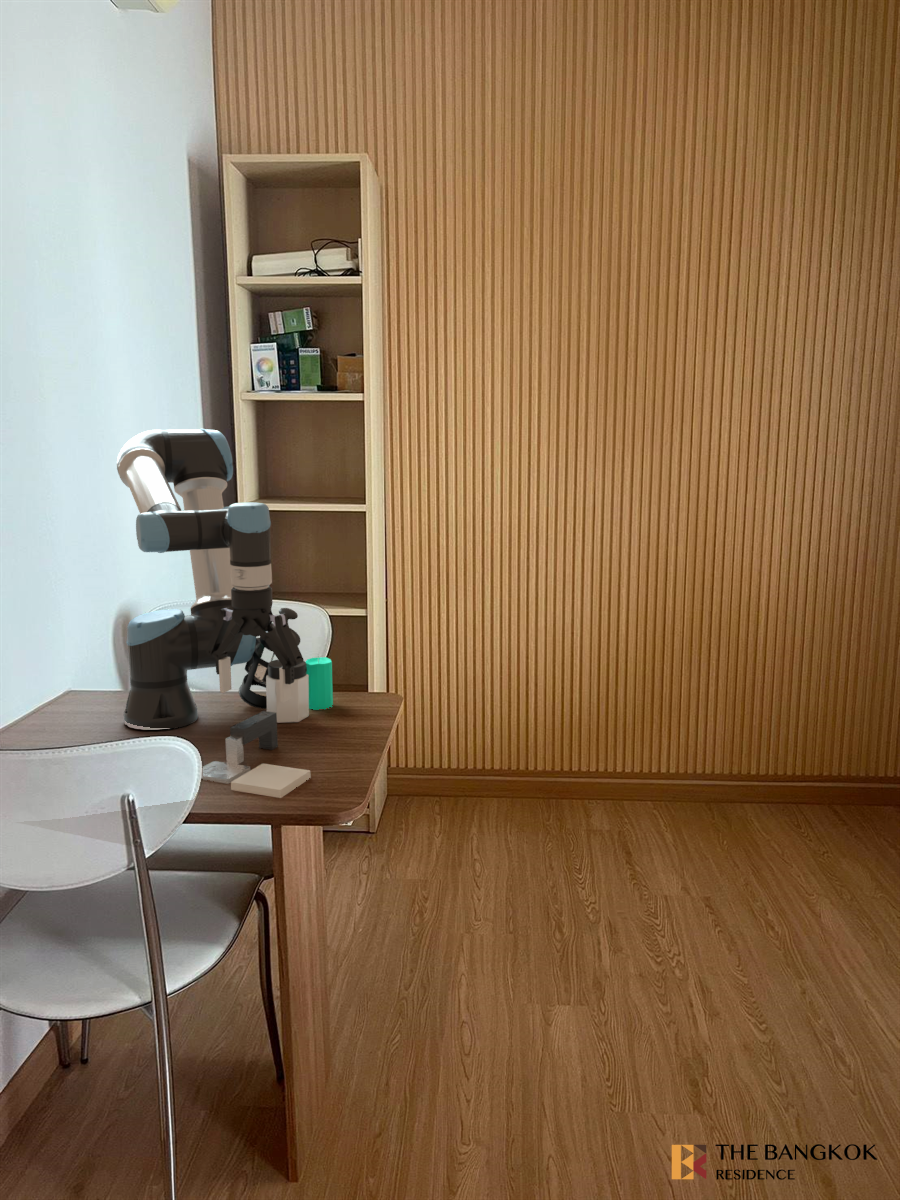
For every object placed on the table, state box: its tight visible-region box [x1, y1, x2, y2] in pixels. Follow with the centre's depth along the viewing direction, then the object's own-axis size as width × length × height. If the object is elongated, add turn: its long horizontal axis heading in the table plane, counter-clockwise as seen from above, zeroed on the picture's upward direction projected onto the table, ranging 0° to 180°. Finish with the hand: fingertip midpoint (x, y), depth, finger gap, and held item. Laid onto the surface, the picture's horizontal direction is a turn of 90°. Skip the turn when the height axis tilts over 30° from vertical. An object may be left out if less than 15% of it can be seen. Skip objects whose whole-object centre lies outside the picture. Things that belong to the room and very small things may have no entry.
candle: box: [305, 655, 334, 711], centre depth 215 cm, size 6×6×12 cm
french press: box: [238, 607, 301, 710], centre depth 212 cm, size 12×9×23 cm
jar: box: [265, 659, 310, 724], centre depth 206 cm, size 9×8×12 cm
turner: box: [202, 710, 279, 785], centre depth 180 cm, size 20×8×7 cm, turn 157°
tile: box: [230, 763, 312, 799], centre depth 170 cm, size 2×10×10 cm
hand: (255, 695), depth 184 cm, fingers open, 13 cm apart
